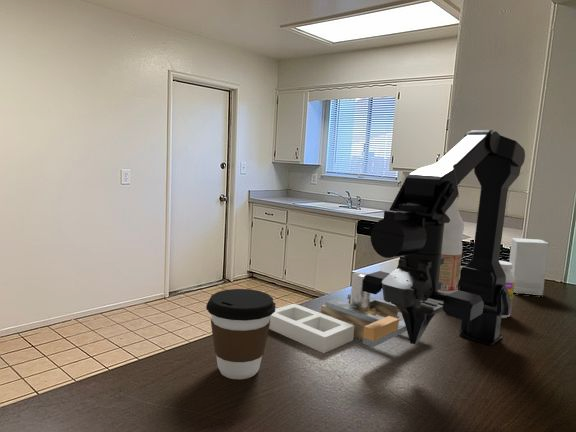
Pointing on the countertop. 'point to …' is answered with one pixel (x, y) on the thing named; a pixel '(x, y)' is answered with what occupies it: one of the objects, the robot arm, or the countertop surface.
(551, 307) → the countertop surface
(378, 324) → the key plate
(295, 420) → the countertop surface
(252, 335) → the coffee cup
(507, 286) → the supplement bottle
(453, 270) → the fruit juice
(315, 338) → the white hollow block
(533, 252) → the skincare box
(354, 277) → the flanged silver cylinder
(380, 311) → the socket block
